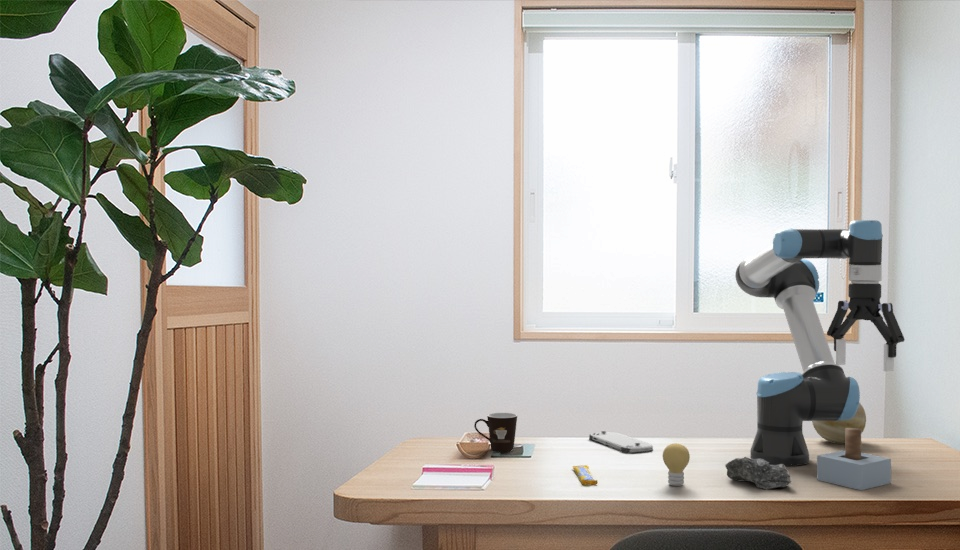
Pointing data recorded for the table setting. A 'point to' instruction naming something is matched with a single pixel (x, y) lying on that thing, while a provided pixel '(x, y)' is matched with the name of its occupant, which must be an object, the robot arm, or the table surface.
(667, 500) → the table surface
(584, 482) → the candy bar
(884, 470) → the socket
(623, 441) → the handheld gaming console
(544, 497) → the table surface
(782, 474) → the rock
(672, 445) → the light bulb
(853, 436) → the peg
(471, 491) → the table surface
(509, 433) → the coffee mug
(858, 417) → the decorative ball
